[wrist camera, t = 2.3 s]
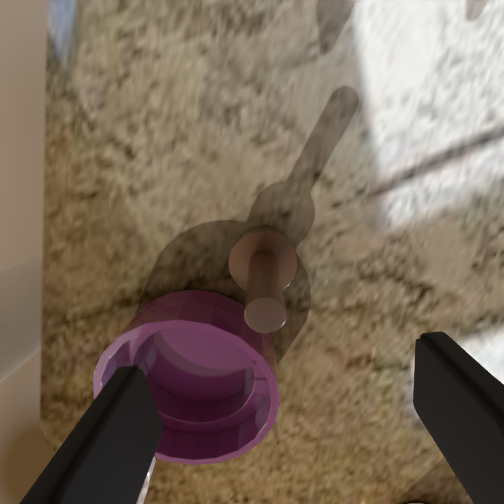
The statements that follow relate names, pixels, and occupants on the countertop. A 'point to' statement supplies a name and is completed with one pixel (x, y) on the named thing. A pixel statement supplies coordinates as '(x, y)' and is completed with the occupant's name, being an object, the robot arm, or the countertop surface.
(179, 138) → the countertop surface
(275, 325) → the dish brush
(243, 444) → the bowl
